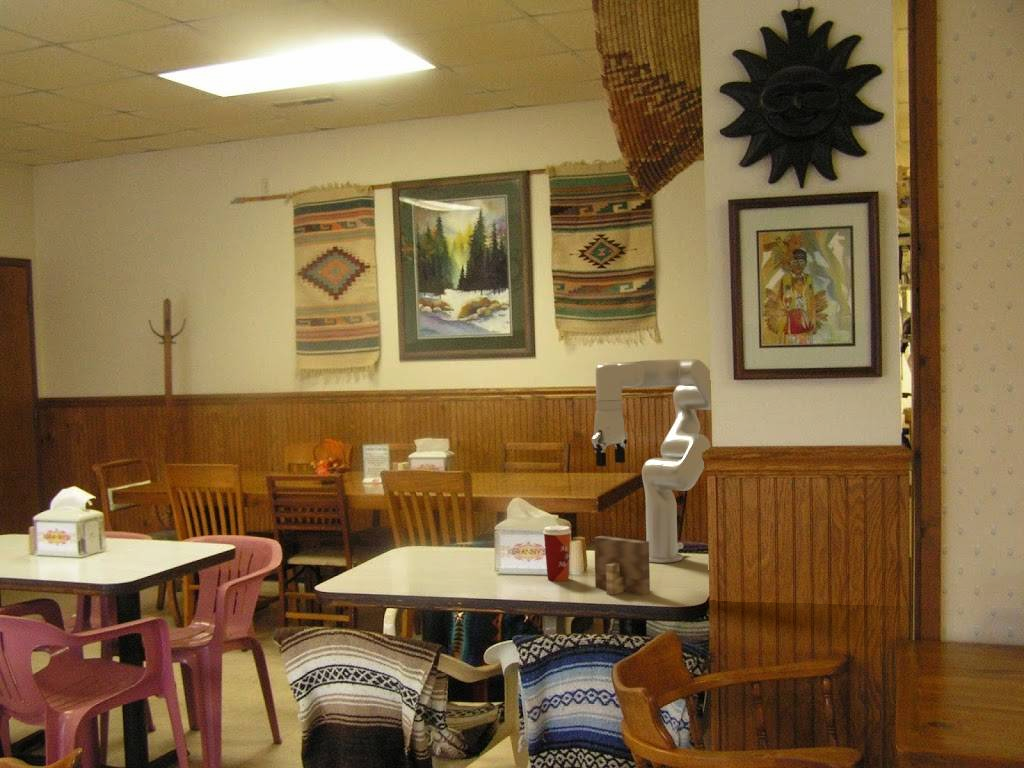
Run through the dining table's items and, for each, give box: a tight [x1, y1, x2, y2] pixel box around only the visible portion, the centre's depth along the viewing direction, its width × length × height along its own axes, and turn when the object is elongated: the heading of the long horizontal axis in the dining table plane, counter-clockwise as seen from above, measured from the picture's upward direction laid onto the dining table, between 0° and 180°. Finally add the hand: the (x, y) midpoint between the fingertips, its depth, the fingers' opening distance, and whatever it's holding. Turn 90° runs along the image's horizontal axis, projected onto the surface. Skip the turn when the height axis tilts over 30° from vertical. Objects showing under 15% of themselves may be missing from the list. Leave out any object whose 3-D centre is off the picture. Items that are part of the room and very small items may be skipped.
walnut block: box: [594, 535, 651, 596], centre depth 289 cm, size 16×3×14 cm, turn 49°
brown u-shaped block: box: [605, 563, 627, 596], centre depth 289 cm, size 12×2×8 cm, turn 140°
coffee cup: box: [542, 525, 572, 582], centre depth 305 cm, size 8×8×15 cm
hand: (610, 464), depth 311 cm, fingers open, 9 cm apart
